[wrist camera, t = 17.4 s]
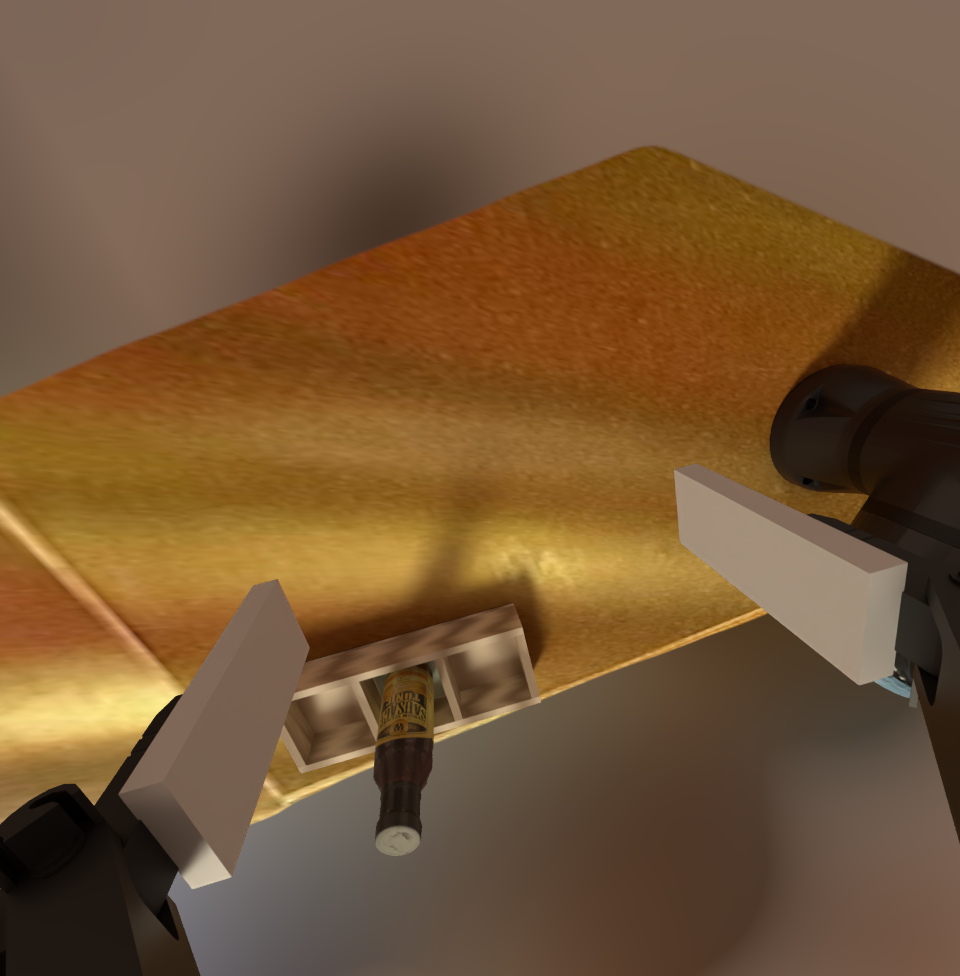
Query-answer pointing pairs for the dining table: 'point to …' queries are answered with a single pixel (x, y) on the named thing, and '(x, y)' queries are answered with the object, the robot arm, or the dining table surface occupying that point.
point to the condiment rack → (443, 647)
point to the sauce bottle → (403, 756)
